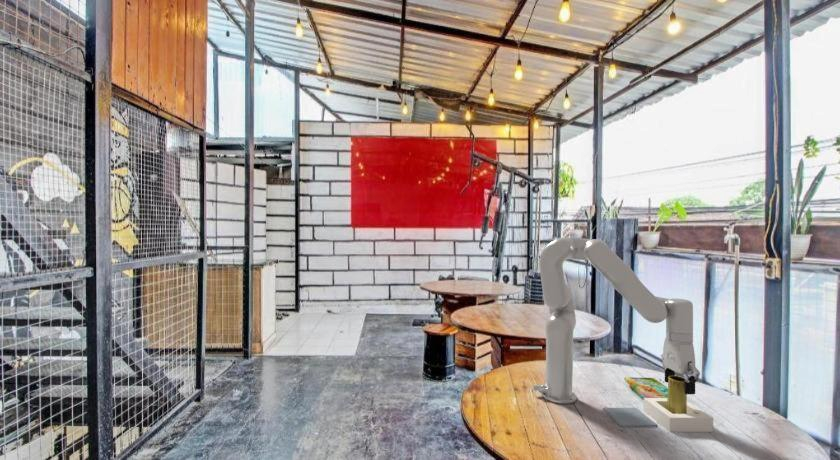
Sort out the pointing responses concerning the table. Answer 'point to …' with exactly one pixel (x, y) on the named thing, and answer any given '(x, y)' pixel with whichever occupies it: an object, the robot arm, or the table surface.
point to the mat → (629, 417)
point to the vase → (676, 395)
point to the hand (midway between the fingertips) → (679, 387)
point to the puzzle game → (647, 387)
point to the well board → (678, 417)
